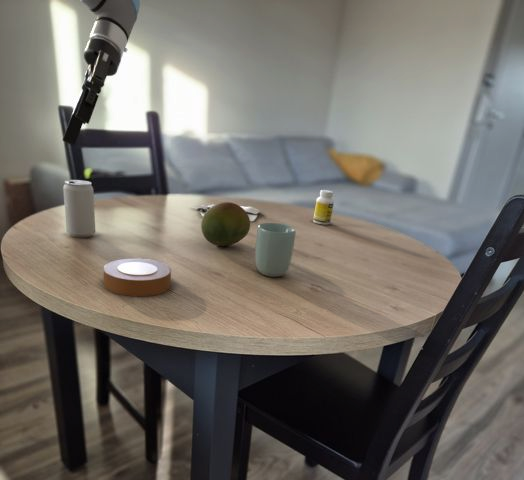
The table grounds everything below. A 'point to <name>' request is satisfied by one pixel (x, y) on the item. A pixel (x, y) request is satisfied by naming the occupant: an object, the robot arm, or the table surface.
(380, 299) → the table surface
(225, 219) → the fruit
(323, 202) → the supplement bottle
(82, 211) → the beverage can
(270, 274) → the cup
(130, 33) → the robot arm
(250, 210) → the cloth
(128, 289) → the brown round flat disc
